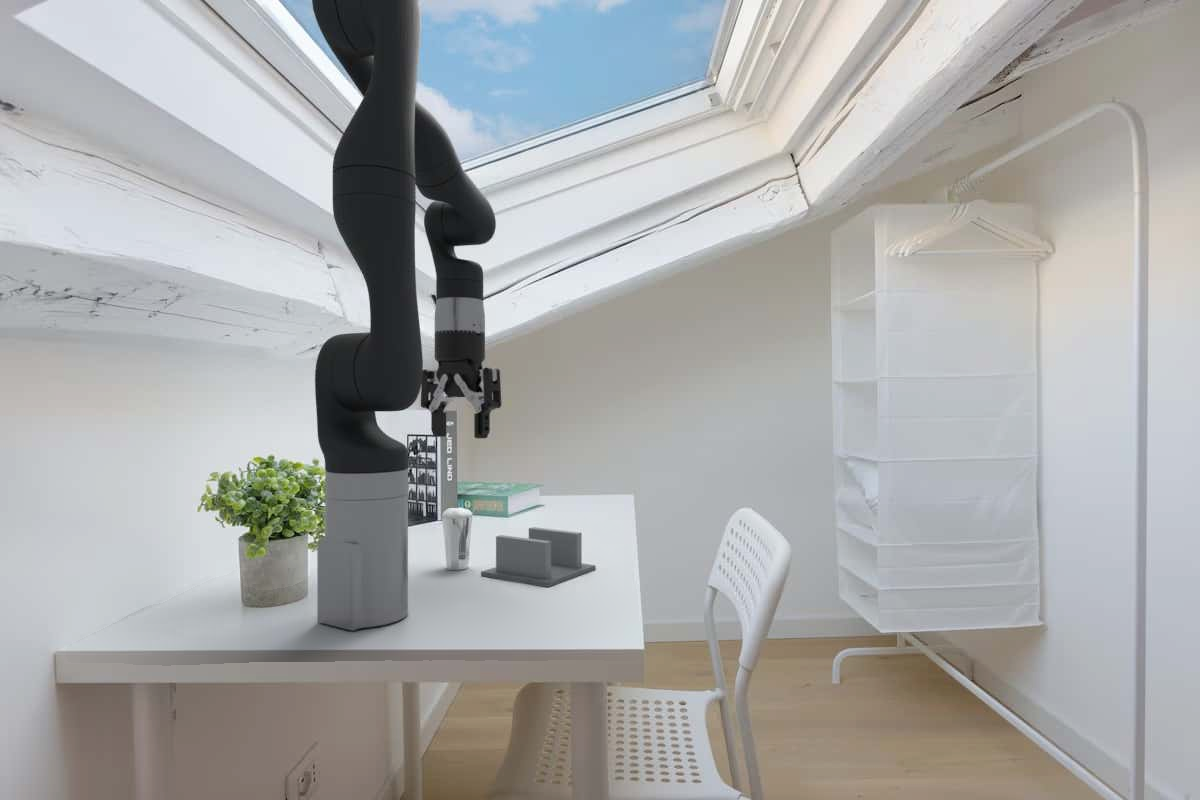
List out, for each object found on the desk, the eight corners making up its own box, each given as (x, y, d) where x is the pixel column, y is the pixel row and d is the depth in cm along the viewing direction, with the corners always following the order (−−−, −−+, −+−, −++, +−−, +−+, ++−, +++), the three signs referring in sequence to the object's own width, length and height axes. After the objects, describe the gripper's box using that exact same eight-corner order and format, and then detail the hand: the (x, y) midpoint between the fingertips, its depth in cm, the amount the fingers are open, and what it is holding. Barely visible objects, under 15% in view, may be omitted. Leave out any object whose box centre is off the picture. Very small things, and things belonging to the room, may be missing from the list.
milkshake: (474, 571, 105) (474, 504, 105) (438, 571, 105) (438, 504, 105) (480, 564, 110) (480, 499, 110) (445, 564, 110) (445, 499, 110)
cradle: (548, 587, 96) (548, 545, 96) (481, 575, 103) (481, 537, 103) (595, 569, 107) (595, 532, 107) (531, 560, 113) (531, 524, 113)
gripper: (408, 331, 108) (408, 437, 108) (478, 325, 101) (478, 440, 101) (443, 334, 115) (443, 435, 115) (512, 330, 107) (512, 437, 107)
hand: (460, 437), depth 108 cm, fingers open, 8 cm apart
